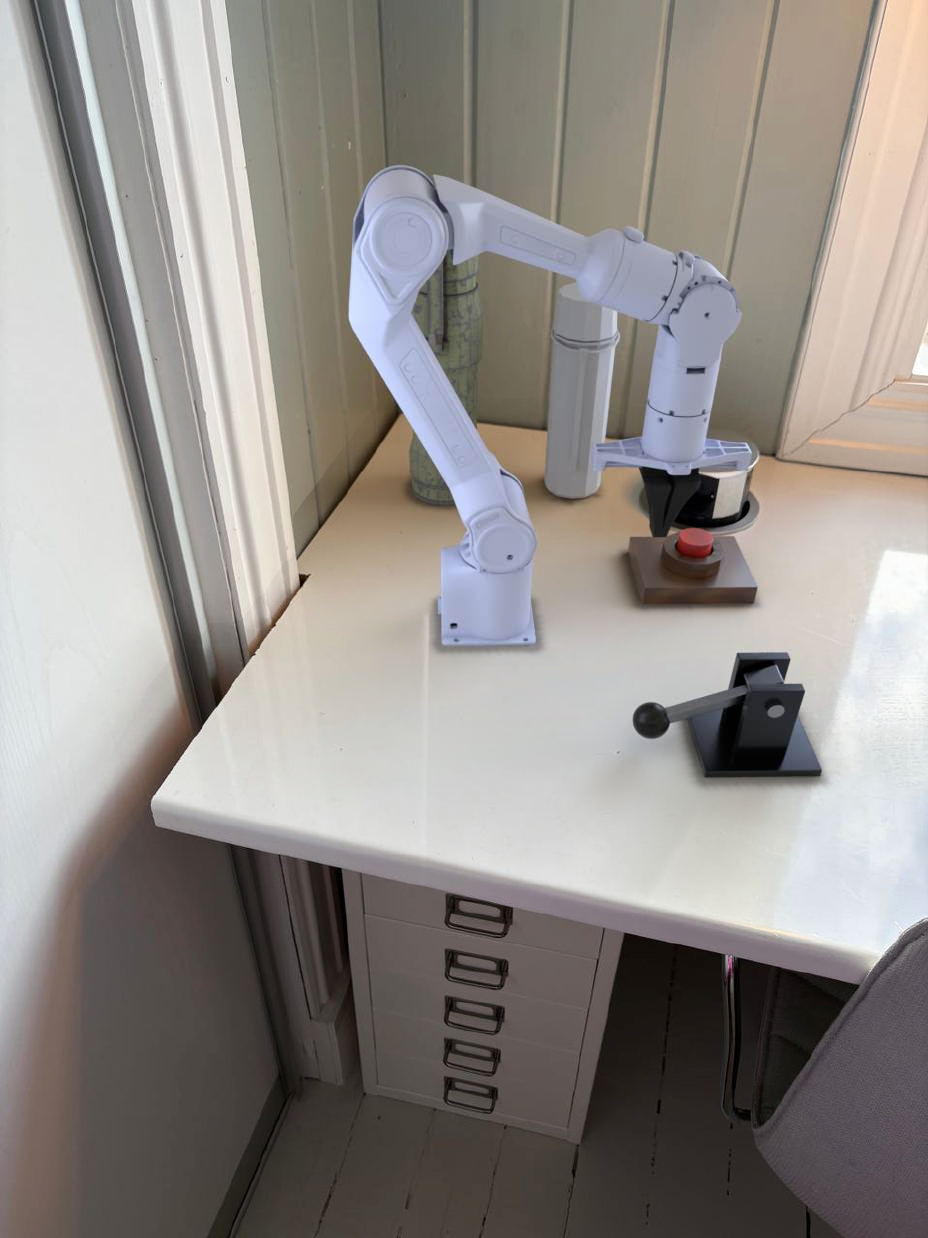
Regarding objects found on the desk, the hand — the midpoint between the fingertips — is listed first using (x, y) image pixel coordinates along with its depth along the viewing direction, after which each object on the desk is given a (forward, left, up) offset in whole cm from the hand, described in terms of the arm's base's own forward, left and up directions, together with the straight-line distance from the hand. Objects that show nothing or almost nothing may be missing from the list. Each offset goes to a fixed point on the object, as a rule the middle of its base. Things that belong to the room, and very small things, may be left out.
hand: (658, 531), depth 91 cm
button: (+6, +7, -7) cm, 11 cm away
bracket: (+6, -19, -10) cm, 23 cm away
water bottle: (-5, +26, -11) cm, 28 cm away
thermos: (-21, +27, -11) cm, 36 cm away
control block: (+6, +7, -10) cm, 14 cm away
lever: (+2, -19, -7) cm, 20 cm away
